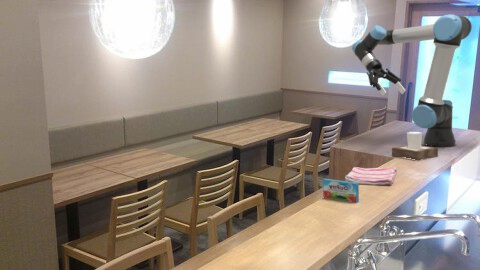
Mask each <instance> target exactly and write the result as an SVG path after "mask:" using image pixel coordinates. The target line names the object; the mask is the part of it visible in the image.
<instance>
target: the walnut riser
mask: <svg viewBox="0 0 480 270" xmlns="http://www.w3.org/2000/svg"><path fill="white" fill-rule="evenodd" d="M391 157H395V158H398V157H406V158H411V159H415V160H418V161H422V160H421V159H423V160H428V159H431V158H438V157H439V147H434V146H427V145H422V144H421V148H420V149H410V148H408V144H406V145H401V146H395V147H391ZM427 158H428V159H427ZM415 160H414V161H415Z"/></svg>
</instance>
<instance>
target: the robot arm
mask: <svg viewBox="0 0 480 270" xmlns="http://www.w3.org/2000/svg"><path fill="white" fill-rule="evenodd" d="M472 27H473V25H472V22H471V21H470V19H469V18H468V17H466V16H464V15H458V14H457V15H456V14H452V13H449V14H445V15H442V16H440V17H439V18H437V19H436V21H435V22H434V23H433V24H426V25H419V26H412V27H404V28H396V29H390V30H389V29H388V30H386V29H385V28H384V27H383V26H380V25H379V24H375V26H373V28H371V29H370V31H369V32H368V34H367V35H366V36H365V37H364V38H363V39H359V40H356V41H355V42H354V43H353V44H352V46H351V50H352V52H353V53H354V55H355V56H356V57H357V59H358V60H359V61H360V63H361V64H362V65H363V67H364V68H365V69H366V70H367V72H366V76H368V78H367V79H368V82H369V86H371V87H372V88H376V90H377V91H378V92H379V93H380V95H381V96H382V97H384V96H385V95H386V94H387V93H388V92H387V91H386V90H385V88H384V87H383V86H382V84H381V83H380V82H379V79H384V80H387V81H389V82H390V83H392V84H394V86H395V87H396V89H397V90H398V92H399V93H400V94H401V95H404V93H405V92H406V88H405V87H404V86H403V85H402V83H401V81H402V79H401V78H400V77H399V76H397V75H396V74H395V73H393V72H392V71H390V70H389V68H385V69H384V68H383V65H382V62H381V61H380V60H379V59H378V57H377V56H376V55H375V54H374V52H373V51H374V50H375V49H376V47H377V46H392V45H395V44H396V45H397V44H405V43H412V42H413V43H414V42H422V41H432V40H433V45H434V46H435V48H434V51H433V52H434V53H433V56H432V60H431V63H430V68H429V73H428V76H427V80H426V84H425V87H424V92H423V95H422V96H421V97H419V99H418V102H417V106H415V107H414V108H413V110H412V112H411V120H412V121H413V123H414V124H415V126H417V127H418V128H420V129H426V133H425V134H424V135H425V136H424V139H423V145H424V144H427V145H432V146H431V147H434V146H438V147H437V148H443V147H444V148H445V147H447V148H448V147H453V146H454V147H455V146H456V145H457V141H456V138H455V136H454V135H455V134H454V132H453V108H454V106H453V102H452V101H451V100H449V99H443V97H444V93H445V91H446V90H445V89H446V85H447V82H448V78H449V76H450V75H449V74H450V70H451V67H452V63H453V59H454V55H455V53H456V50H457V49H458V48H460V46H461V42H462V40H465V39H466V38H467V37H468V36H470V34H471V32H472ZM427 145H426V146H427Z"/></svg>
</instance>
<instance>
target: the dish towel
mask: <svg viewBox="0 0 480 270" xmlns="http://www.w3.org/2000/svg"><path fill="white" fill-rule="evenodd" d="M397 172H398V169H397V167H374V168H373V167H372V168H371V167H369V168H365V167H357V166H354V167H353V168H352V169H351V171H350V172H349V173H348V174H346V175H345V177H344V181H347V182H355V183H358V184H359V185H367V186H369V185H370V186H374V185H375V186H392V184H393V183H394V180H395V177H396V176H397Z"/></svg>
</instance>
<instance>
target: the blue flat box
mask: <svg viewBox="0 0 480 270" xmlns="http://www.w3.org/2000/svg"><path fill="white" fill-rule="evenodd" d="M359 185H360V184H358V183H355V182H347V181H345V180H338V179H330V178H325V179H323V180H322V187H323V188H322V196H323V198H325V199H330V200H335V201H336V200H337V201H341V202H342V201H343V202H349V203H355V204H356V203H358V202H360V201H359V200H360V199H359V198H360V197H359V194H360V193H359V192H360V191H359V190H360V188H359Z"/></svg>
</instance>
